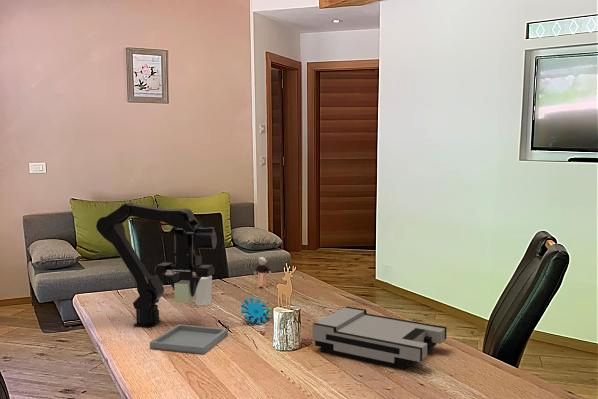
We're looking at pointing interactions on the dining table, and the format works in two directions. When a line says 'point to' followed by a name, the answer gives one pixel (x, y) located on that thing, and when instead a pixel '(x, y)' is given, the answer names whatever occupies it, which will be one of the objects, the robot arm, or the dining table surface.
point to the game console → (376, 338)
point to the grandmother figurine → (262, 273)
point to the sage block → (183, 292)
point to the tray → (189, 339)
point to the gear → (255, 310)
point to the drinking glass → (204, 291)
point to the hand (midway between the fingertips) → (185, 295)
